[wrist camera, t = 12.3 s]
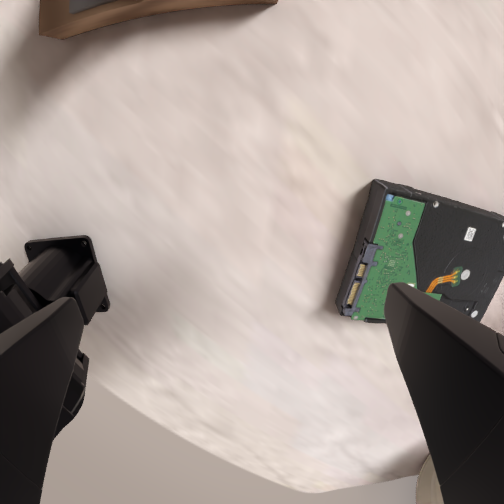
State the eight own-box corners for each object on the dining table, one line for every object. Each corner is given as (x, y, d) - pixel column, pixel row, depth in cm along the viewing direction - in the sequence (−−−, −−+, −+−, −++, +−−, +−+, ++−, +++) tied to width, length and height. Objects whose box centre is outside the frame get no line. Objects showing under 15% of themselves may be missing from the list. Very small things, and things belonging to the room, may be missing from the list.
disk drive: (505, 212, 22) (368, 175, 21) (525, 225, 19) (385, 187, 18) (465, 310, 27) (332, 303, 25) (479, 327, 24) (340, 325, 23)
